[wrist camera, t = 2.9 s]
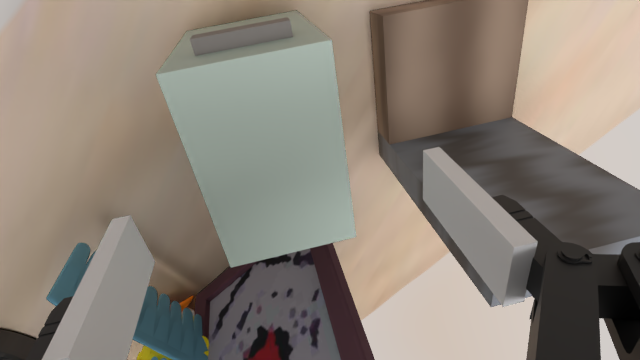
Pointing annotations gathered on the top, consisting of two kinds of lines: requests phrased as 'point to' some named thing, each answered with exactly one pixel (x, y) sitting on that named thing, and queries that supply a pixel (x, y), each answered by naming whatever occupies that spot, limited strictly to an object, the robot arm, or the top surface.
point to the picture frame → (283, 310)
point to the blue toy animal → (145, 316)
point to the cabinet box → (263, 133)
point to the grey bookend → (484, 123)
